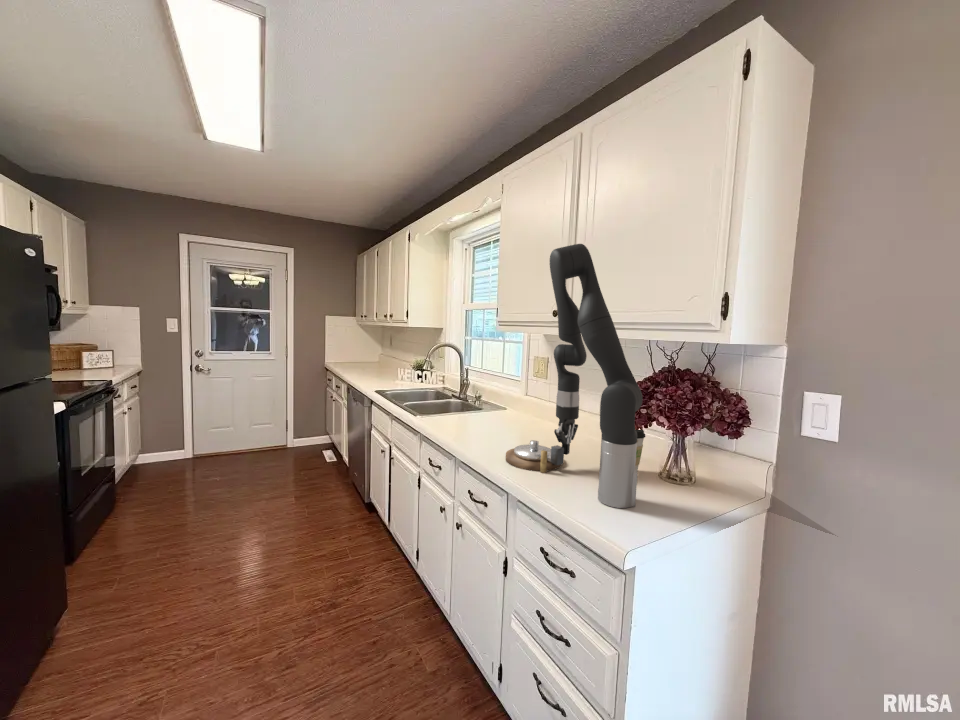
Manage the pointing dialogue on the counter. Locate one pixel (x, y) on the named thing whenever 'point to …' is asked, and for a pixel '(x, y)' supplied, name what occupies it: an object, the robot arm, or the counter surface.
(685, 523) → the counter surface
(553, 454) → the flange plate
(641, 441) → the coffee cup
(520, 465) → the base
